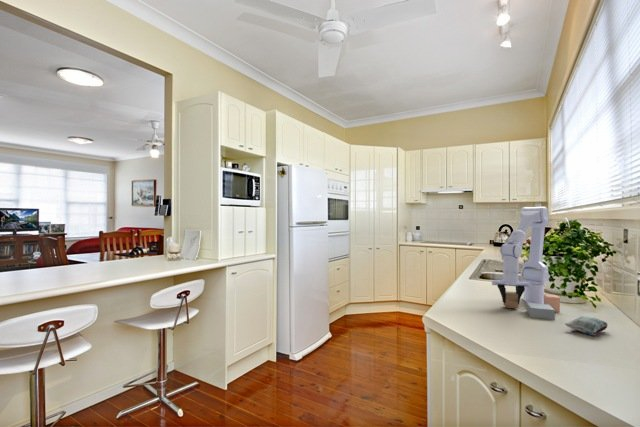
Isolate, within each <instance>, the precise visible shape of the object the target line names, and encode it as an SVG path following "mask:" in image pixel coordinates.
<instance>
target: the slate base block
mask: <svg viewBox="0 0 640 427" xmlns="http://www.w3.org/2000/svg"><path fill="white" fill-rule="evenodd" d="M526 313H527V314H528V315H529V317H530V318H537V319H544V320H545V319H546V320H547V319H548V320H554V321H555V320H556V312H555V310H554V309H553V308H552V307H551V306H550V305H547V304H537V303H526Z"/></svg>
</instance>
